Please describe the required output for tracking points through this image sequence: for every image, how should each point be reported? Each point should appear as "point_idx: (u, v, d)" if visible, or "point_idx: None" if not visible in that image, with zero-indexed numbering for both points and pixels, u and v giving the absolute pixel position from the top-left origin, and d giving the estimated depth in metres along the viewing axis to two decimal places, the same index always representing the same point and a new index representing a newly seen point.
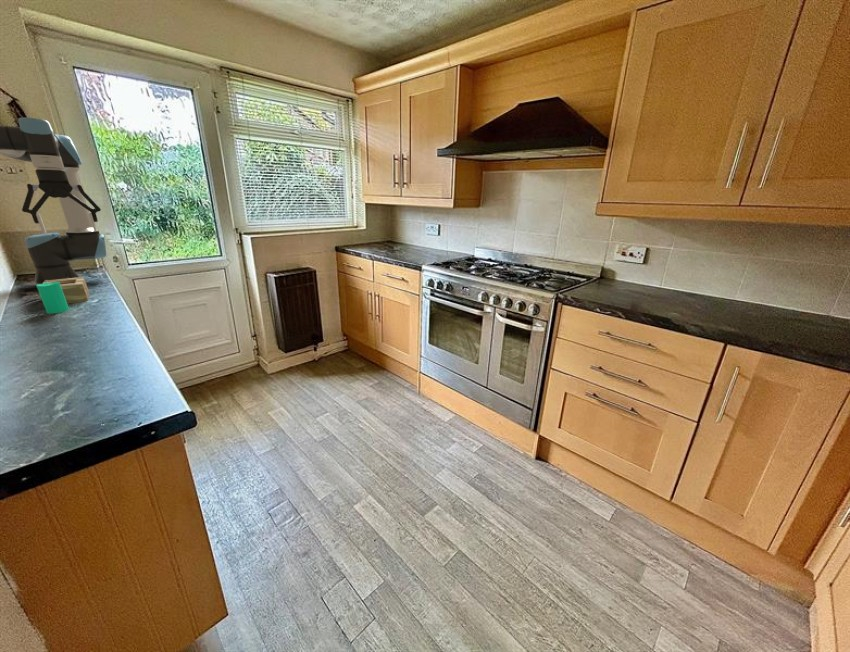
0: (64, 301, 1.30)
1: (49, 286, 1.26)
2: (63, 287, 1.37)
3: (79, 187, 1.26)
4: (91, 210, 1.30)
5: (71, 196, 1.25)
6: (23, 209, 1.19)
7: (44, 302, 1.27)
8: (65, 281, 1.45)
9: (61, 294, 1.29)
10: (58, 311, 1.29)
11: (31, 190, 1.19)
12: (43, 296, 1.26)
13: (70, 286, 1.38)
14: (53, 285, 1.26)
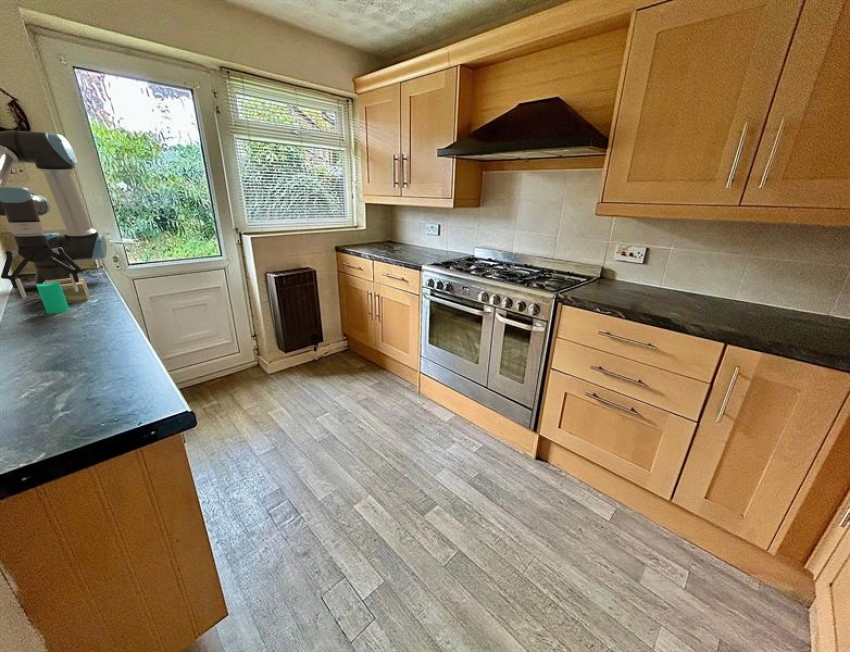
0: (64, 301, 1.30)
1: (49, 286, 1.26)
2: (63, 287, 1.37)
3: (59, 250, 1.26)
4: (72, 271, 1.29)
5: (51, 260, 1.25)
6: (2, 276, 1.19)
7: (44, 302, 1.27)
8: (65, 281, 1.45)
9: (61, 294, 1.29)
10: (58, 311, 1.29)
11: (10, 257, 1.19)
12: (43, 296, 1.26)
13: (70, 286, 1.38)
14: (53, 285, 1.26)
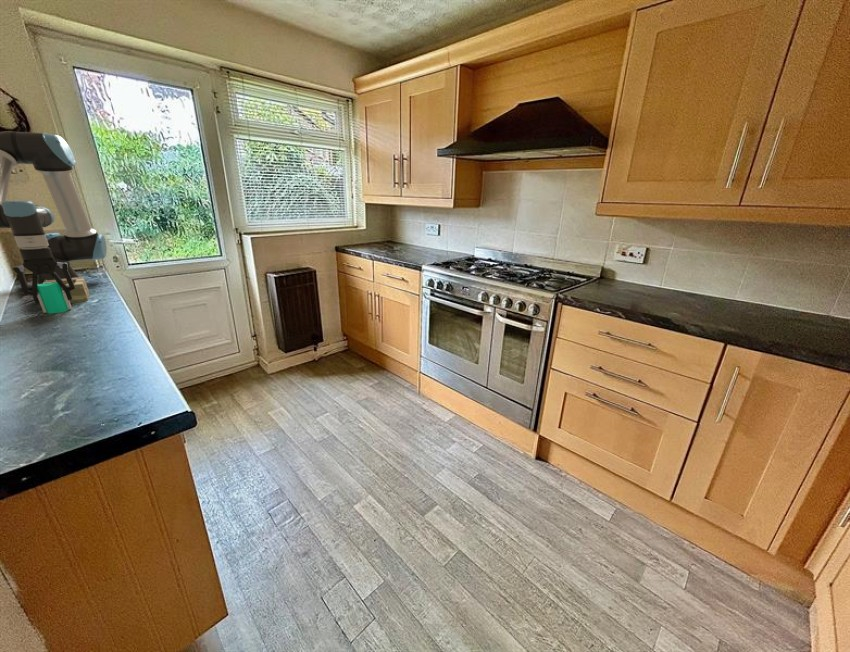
0: (64, 301, 1.30)
1: (49, 286, 1.26)
2: None
3: (64, 265, 1.28)
4: (65, 289, 1.30)
5: (52, 273, 1.26)
6: (24, 292, 1.23)
7: (44, 302, 1.27)
8: (65, 281, 1.45)
9: (61, 294, 1.29)
10: (58, 311, 1.29)
11: (20, 272, 1.21)
12: (43, 296, 1.26)
13: None
14: (53, 285, 1.26)
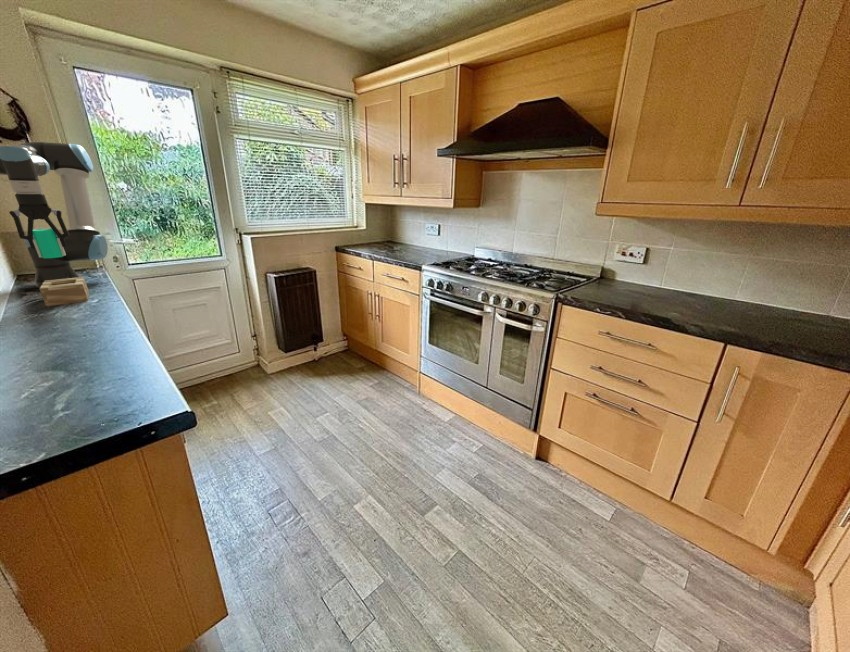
0: (58, 247, 1.37)
1: (44, 231, 1.32)
2: (63, 287, 1.37)
3: (58, 212, 1.34)
4: (60, 235, 1.36)
5: (47, 219, 1.32)
6: (20, 236, 1.29)
7: (39, 247, 1.33)
8: (65, 281, 1.45)
9: (55, 240, 1.35)
10: (53, 256, 1.35)
11: (16, 216, 1.27)
12: (38, 241, 1.32)
13: (70, 286, 1.38)
14: (48, 231, 1.33)
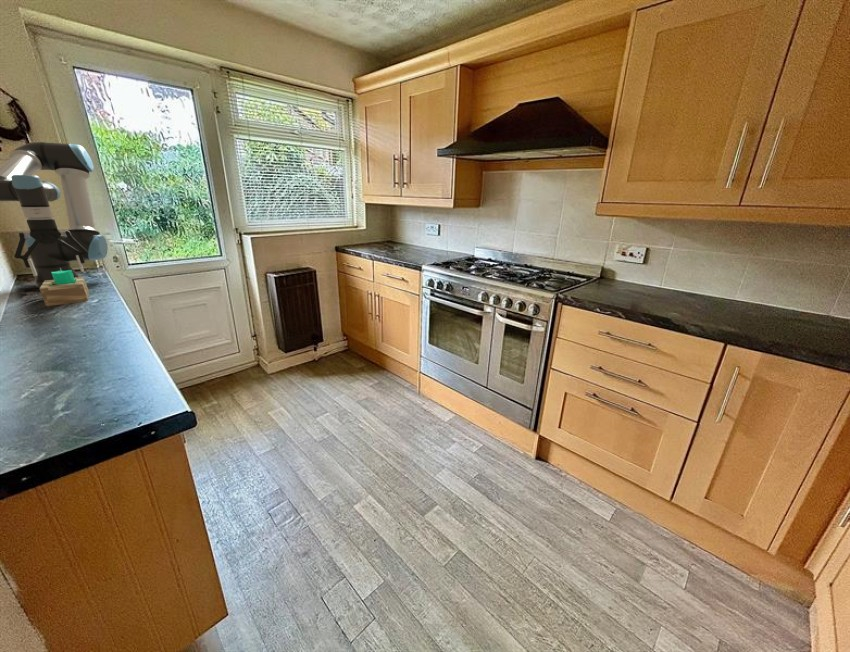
0: None
1: (63, 273, 1.40)
2: (63, 287, 1.37)
3: (67, 233, 1.38)
4: (78, 253, 1.42)
5: (60, 242, 1.37)
6: (15, 256, 1.31)
7: None
8: None
9: (73, 281, 1.43)
10: None
11: (23, 238, 1.31)
12: (57, 283, 1.40)
13: (70, 286, 1.38)
14: (66, 272, 1.40)
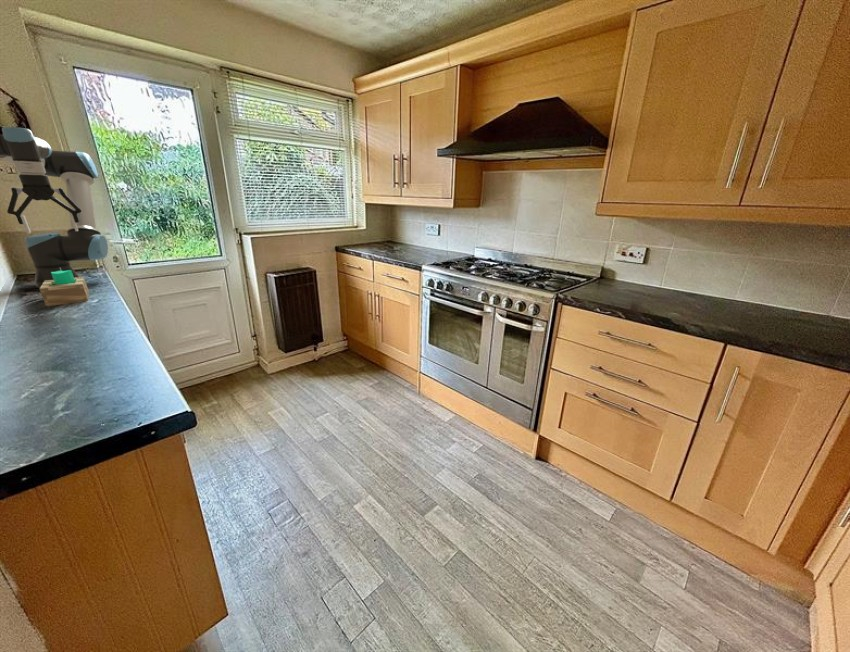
0: None
1: (63, 273, 1.40)
2: (63, 287, 1.37)
3: (60, 190, 1.36)
4: (72, 212, 1.40)
5: (53, 199, 1.36)
6: (8, 211, 1.30)
7: None
8: None
9: (73, 281, 1.43)
10: None
11: (15, 193, 1.29)
12: (57, 283, 1.40)
13: (70, 286, 1.38)
14: (66, 272, 1.40)
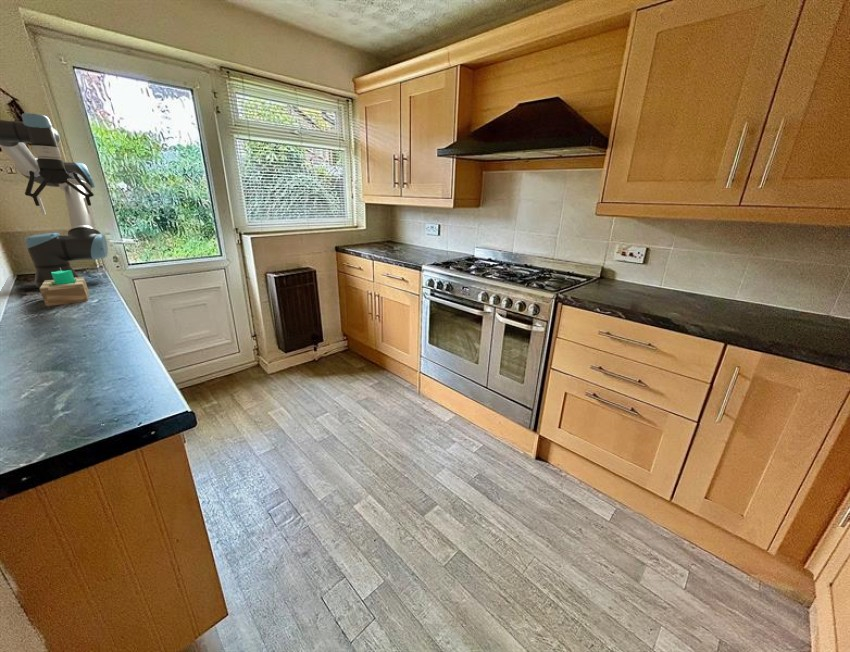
0: None
1: (63, 273, 1.40)
2: (63, 287, 1.37)
3: (74, 174, 1.45)
4: (85, 195, 1.48)
5: (67, 182, 1.44)
6: (26, 193, 1.37)
7: None
8: None
9: (73, 281, 1.43)
10: None
11: (33, 176, 1.37)
12: (57, 283, 1.40)
13: (70, 286, 1.38)
14: (66, 272, 1.40)
